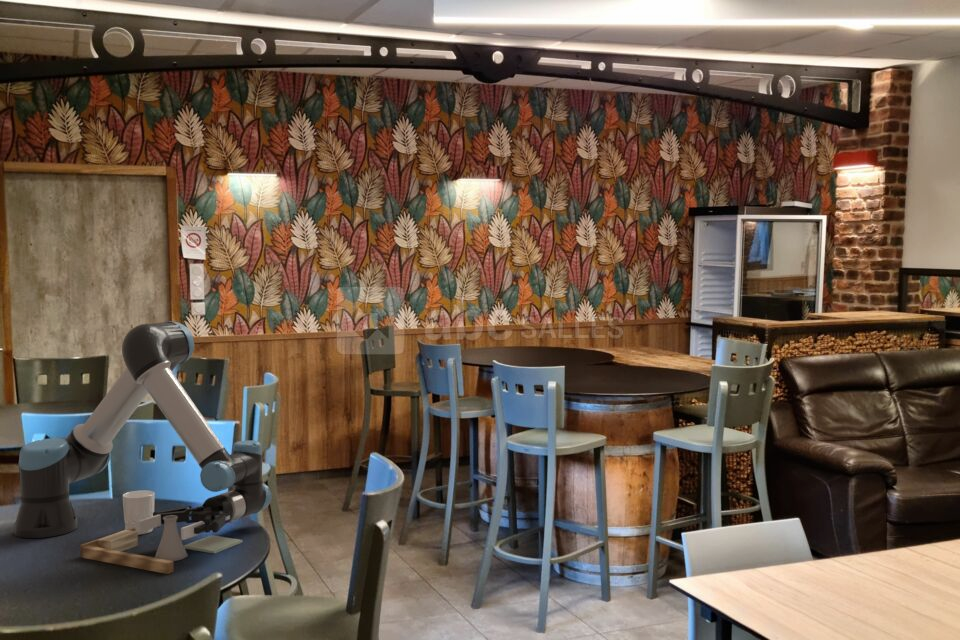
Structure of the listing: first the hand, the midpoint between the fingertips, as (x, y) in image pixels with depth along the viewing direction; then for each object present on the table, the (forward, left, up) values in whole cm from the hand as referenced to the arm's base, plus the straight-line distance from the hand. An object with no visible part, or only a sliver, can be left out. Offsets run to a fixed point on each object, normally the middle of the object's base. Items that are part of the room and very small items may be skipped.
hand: (160, 530), depth 214 cm
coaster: (+2, +15, -7) cm, 17 cm away
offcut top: (-17, +3, -6) cm, 18 cm away
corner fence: (-6, +2, -7) cm, 10 cm away
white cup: (-24, +16, -8) cm, 30 cm away
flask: (0, +3, -8) cm, 8 cm away
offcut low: (-17, +3, -8) cm, 19 cm away
